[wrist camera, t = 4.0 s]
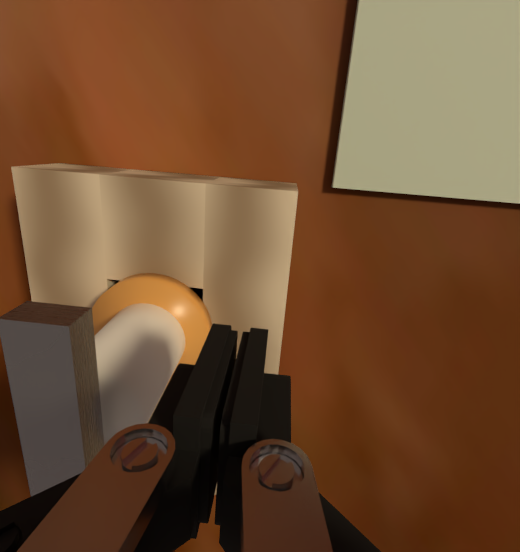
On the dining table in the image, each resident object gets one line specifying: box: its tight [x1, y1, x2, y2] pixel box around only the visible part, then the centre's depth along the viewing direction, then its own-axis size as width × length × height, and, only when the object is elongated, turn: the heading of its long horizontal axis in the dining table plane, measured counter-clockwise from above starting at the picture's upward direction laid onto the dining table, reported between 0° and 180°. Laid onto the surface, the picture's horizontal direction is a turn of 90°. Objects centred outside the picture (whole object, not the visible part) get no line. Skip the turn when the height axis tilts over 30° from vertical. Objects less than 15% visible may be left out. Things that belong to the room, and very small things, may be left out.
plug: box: [92, 273, 212, 445], centre depth 19 cm, size 6×6×11 cm
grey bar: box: [0, 301, 104, 497], centre depth 17 cm, size 16×2×9 cm, turn 176°
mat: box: [332, 0, 520, 204], centre depth 18 cm, size 12×12×1 cm
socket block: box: [11, 163, 298, 495], centre depth 23 cm, size 14×20×4 cm
